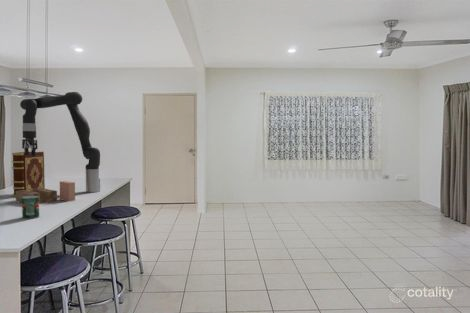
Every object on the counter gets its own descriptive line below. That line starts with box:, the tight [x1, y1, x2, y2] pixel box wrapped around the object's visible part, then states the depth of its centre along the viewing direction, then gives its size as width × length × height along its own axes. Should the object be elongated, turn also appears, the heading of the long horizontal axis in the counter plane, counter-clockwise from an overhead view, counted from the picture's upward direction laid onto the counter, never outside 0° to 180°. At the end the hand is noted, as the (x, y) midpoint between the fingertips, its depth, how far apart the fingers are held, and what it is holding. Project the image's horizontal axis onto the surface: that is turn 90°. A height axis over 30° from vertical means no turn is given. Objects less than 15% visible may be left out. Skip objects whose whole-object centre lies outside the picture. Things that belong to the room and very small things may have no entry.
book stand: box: [15, 188, 58, 204], centre depth 231 cm, size 16×20×6 cm
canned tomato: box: [21, 196, 40, 220], centre depth 188 cm, size 8×8×11 cm
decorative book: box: [11, 151, 46, 198], centre depth 253 cm, size 22×8×30 cm, turn 168°
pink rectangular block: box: [59, 180, 76, 202], centre depth 236 cm, size 4×11×12 cm, turn 56°
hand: (29, 155), depth 229 cm, fingers open, 8 cm apart
